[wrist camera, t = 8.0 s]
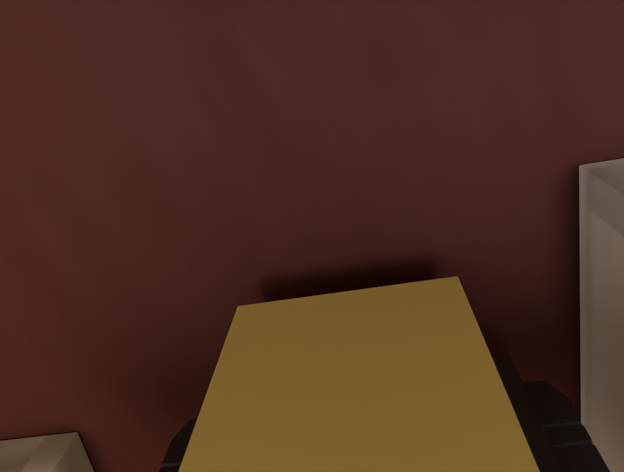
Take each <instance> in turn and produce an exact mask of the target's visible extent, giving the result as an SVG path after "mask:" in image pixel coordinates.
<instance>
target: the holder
mask: <svg viewBox="0 0 624 472" xmlns="http://www.w3.org/2000/svg"><path fill="white" fill-rule="evenodd" d="M0 472H94V470H93V468H92V466H91V463H90V461H89V459H88V456H87V454H86V451H85V449H84V447H83V444H82V442H81V440H80V437H79V435H78V432H74V433H65V434H56V435H47V436H39V437H30V438H21V439H12V440H3V441H0Z"/></svg>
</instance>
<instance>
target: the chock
mask: <svg viewBox="0 0 624 472" xmlns="http://www.w3.org/2000/svg"><path fill="white" fill-rule="evenodd" d="M179 472H540V471H539V469H538V466H537V464H536V462H535V459H534V457H533V454H532V452H531V450H530V447H529V445H528V443H527V440H526V438H525V435H524V433H523V431H522V428H521V426H520V423H519V421H518V419H517V416H516V414H515V412H514V409H513V407H512V404H511V402H510V400H509V397H508V395H507V392H506V390H505V388H504V385H503V383H502V380H501V378H500V376H499V373H498V371H497V369H496V366H495V364H494V361H493V359H492V357H491V354H490V352H489V349H488V347H487V345H486V342H485V340H484V338H483V335H482V333H481V330H480V328H479V326H478V323H477V321H476V318H475V316H474V314H473V311H472V309H471V307H470V304H469V302H468V299H467V297H466V295H465V292H464V290H463V287H462V285H461V283H460V280H459V278H458V276H455V277H448V278H441V279H433V280H426V281H419V282H411V283H404V284H397V285H389V286H382V287H375V288H367V289H360V290H353V291H345V292H338V293H331V294H323V295H316V296H309V297H301V298H294V299H287V300H279V301H272V302H265V303H257V304H250V305H243V306H238V307H237V310H236V312H235V315H234V318H233V321H232V323H231V326H230V329H229V332H228V335H227V337H226V340H225V343H224V346H223V349H222V351H221V354H220V357H219V360H218V363H217V365H216V368H215V371H214V374H213V377H212V379H211V382H210V385H209V388H208V391H207V393H206V396H205V399H204V402H203V404H202V407H201V410H200V413H199V416H198V418H197V421H196V424H195V427H194V430H193V432H192V435H191V438H190V441H189V444H188V446H187V449H186V452H185V455H184V458H183V460H182V463H181V466H180V469H179Z"/></svg>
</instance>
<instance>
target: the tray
mask: <svg viewBox="0 0 624 472" xmlns="http://www.w3.org/2000/svg"><path fill="white" fill-rule="evenodd" d="M579 226H580V373H581V424H582V425H584V427H585V429H586V430H587V432H588V434H589V436H590V437H591V439H592V443H593V445H595V446H596V448H597V450H598V451H599V453H600V455H601V457H602V458H603V460H604V462H605V463H606V465H607V467H608V469H609V470H610V472H624V158H623V159H616V160H610V161H603V162H597V163H590V164H584V165H579Z"/></svg>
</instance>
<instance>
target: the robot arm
mask: <svg viewBox="0 0 624 472" xmlns="http://www.w3.org/2000/svg"><path fill="white" fill-rule="evenodd" d="M492 359H493V361H494V364H495V366H496V369H497V371H498V373H499V376H500V378H501V380H502V383H503V385H504V388H505V390H506V392H507V395H508V397H509V400H510V402H511V404H512V407H513V409H514V412H515V414H516V416H517V419H518V421H519V423H520V426H521V428H522V431H523V433H524V435H525V438H526V440H527V443H528V445H529V447H530V450H531V452H532V454H533V457H534V459H535V462H536V464H537V466H538V469H539V471H540V472H610V470H609V469H608V467H607V465H606V463H605V462H604V460H603V458H602V457H601V455H600V453H599V451H598V450H597V448H596V446H595V445H593V443H592V439H591V437H590V436H589V434H588V432H587V430H586V429H585V427H584V425H582V424H581V420H580V418H579V416H578V415H577V413H576V411H575V409H574V408H573V406H572V404H571V402H570V401H569V399H568V398H567V397H566V396H565V395H563V394H562V393H561V392H559V391H558V390H557V389H556V388H554V387H553V386H552V385H550V384H549V383H548V382H546V381H545V380H544V381H535V382H526V383H522V381H521V379H520V377H519V375H518V372H517V370H516V368H515V366H514V364H513V362H512V360H511V358H510V357H509V356H501V357H492ZM196 421H197V419H194V420H189V421H188V423H187V424H186V425H185V426H184V427H183V428H182V429H181V430H180V432H179V433H178V434H177V435H176V436H175V437H174V438H173V440H172V441H171V443H170V446H169V448H168V451H167V453H166V456H165V458H164V461H163V463H162V464H163V468H160V471H159V472H179V469H180V466H181V463H182V460H183V458H184V455H185V452H186V449H187V446H188V444H189V441H190V438H191V435H192V432H193V430H194V427H195V424H196Z"/></svg>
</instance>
